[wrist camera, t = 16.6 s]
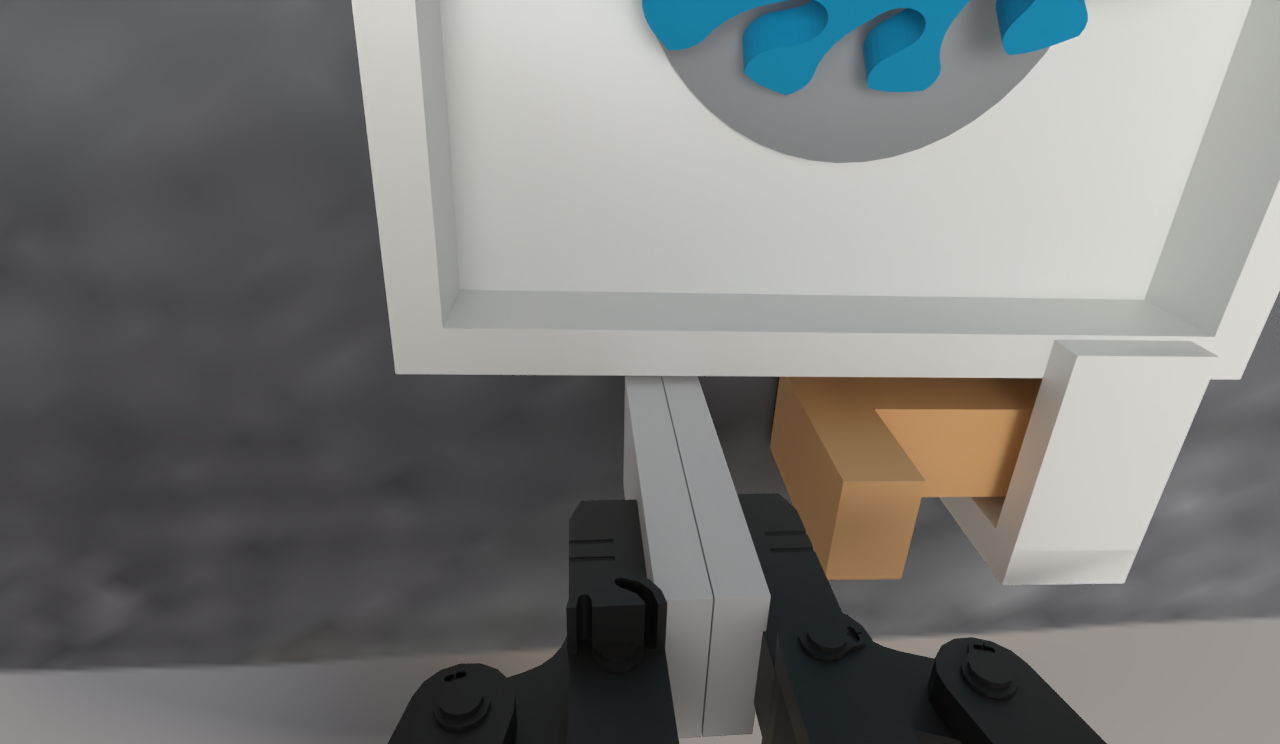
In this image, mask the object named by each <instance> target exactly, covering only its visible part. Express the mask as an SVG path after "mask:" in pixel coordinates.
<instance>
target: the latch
mask: <svg viewBox="0 0 1280 744" xmlns="http://www.w3.org/2000/svg"><path fill="white" fill-rule="evenodd" d="M1042 379H1043V378H932V377H780V378H779V385H778V392H777V400H776V407H775V414H774V422H773V429H772V436H771V444H770V450H771V452H772V455H773V457H774V460H775V462H776V464H777V467H778V469H779V472H780V474H781V476H782V479H783V481H784V484H785V486H786V488H787V491H788V493H789V496H790V498H791V500H792V503H793V505H794V508H795V509H796V510H797V511H798V514H799V516H800V518H801V520H802V523H803V525H804V527H805V530H806V535H808V536H809V539H810V541H811V543H812V545H813V551H815V552H816V555H817V557H818V559H819V561H820V564H821V566H822V568H823V570H824V573H825V575H826V577H827V579H828V580H860V579H901V578H902V574H903V570H904V566H905V562H906V558H907V554H908V550H909V546H910V542H911V538H912V534H913V530H914V526H915V522H916V518H917V514H918V510H919V506H920V502H921V498H922V497H1006V495H1007V491H1008V488H1009V485H1010V482H1011V479H1012V475H1013V472H1014V469H1015V466H1016V462H1017V459H1018V456H1019V453H1020V450H1021V446H1022V443H1023V440H1024V437H1025V433H1026V430H1027V427H1028V424H1029V421H1030V417H1031V414H1032V411H1033V408H1034V405H1035V401H1036V398H1037V395H1038V392H1039V388H1040V385H1041V382H1042Z"/></svg>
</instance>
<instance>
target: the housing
mask: <svg viewBox="0 0 1280 744" xmlns="http://www.w3.org/2000/svg"><path fill="white" fill-rule="evenodd" d="M351 1H352V9H353V18H354V26H355V35H356V43H357V52H358V60H359V68H360V77H361V85H362V94H363V102H364V111H365V119H366V128H367V136H368V145H369V153H370V162H371V170H372V179H373V187H374V196H375V204H376V213H377V221H378V229H379V238H380V246H381V255H382V263H383V272H384V280H385V289H386V297H387V306H388V314H389V323H390V331H391V340H392V348H393V357H394V365H395V373H396V374H456V375H614V376H773V377H932V378H1043V379H1042V382H1041V385H1040V388H1039V392H1038V395H1037V398H1036V401H1035V405H1034V408H1033V411H1032V414H1031V417H1030V421H1029V424H1028V427H1027V430H1026V433H1025V437H1024V440H1023V443H1022V446H1021V450H1020V453H1019V456H1018V459H1017V462H1016V466H1015V469H1014V472H1013V475H1012V479H1011V482H1010V485H1009V488H1008V491H1007V495H1006V497H939V498H940V500H941V501H942V502H943V504H944V505H945V507H946V508H947V509H948V511H949V512H950V514H951V515H952V516H953V518H954V519H955V521H956V522H957V523H958V525H959V526H960V527H961V529H962V530H963V532H964V533H965V534H966V536H967V537H968V539H969V540H970V541H971V543H972V544H973V546H974V547H975V548H976V550H977V551H978V553H979V554H980V555H981V557H982V558H983V559H984V561H985V562H986V564H987V565H988V566H989V568H990V569H991V571H992V572H993V573H994V575H995V576H996V578H997V579H998V580H999V582H1000V583H1001V585H1048V584H1112V583H1124V582H1125V580H1126V577H1127V575H1128V573H1129V570H1130V568H1131V565H1132V563H1133V561H1134V558H1135V556H1136V554H1137V551H1138V549H1139V547H1140V544H1141V542H1142V539H1143V537H1144V535H1145V532H1146V530H1147V528H1148V525H1149V523H1150V520H1151V518H1152V516H1153V513H1154V511H1155V509H1156V506H1157V504H1158V502H1159V499H1160V497H1161V494H1162V492H1163V490H1164V487H1165V485H1166V483H1167V480H1168V478H1169V476H1170V473H1171V471H1172V468H1173V466H1174V464H1175V461H1176V459H1177V457H1178V454H1179V452H1180V449H1181V447H1182V445H1183V442H1184V440H1185V438H1186V435H1187V433H1188V431H1189V428H1190V426H1191V423H1192V421H1193V419H1194V416H1195V414H1196V412H1197V409H1198V407H1199V405H1200V402H1201V400H1202V397H1203V395H1204V393H1205V390H1206V388H1207V386H1208V383H1209V381H1210V379H1241V377H1242V374H1243V372H1244V370H1245V368H1246V365H1247V363H1248V361H1249V359H1250V356H1251V354H1252V352H1253V350H1254V347H1255V345H1256V343H1257V341H1258V338H1259V336H1260V334H1261V332H1262V329H1263V327H1264V325H1265V322H1266V320H1267V318H1268V316H1269V313H1270V311H1271V309H1272V307H1273V304H1274V302H1275V300H1276V298H1277V295H1278V293H1279V291H1280V0H1085V4H1086V9H1087V13H1088V22H1087V24H1086V26H1085V29H1084V30H1083V31H1082V33H1081V34H1080V35H1079V36H1077V37H1075V38H1072V39H1069V40H1067V41H1064V42H1061V43H1059V44H1056V45H1053V46H1050V47H1047V48H1044V49H1040V50H1037V51H1033V52H1028V53H1024V54H1017V55H1008V54H1007V53H1006V52H1005V50H1004V48H1003V45H1002V40H1001V35H1000V29H999V24H998V19H997V13H996V1H997V0H970V1H969V2H968V3H967V5H966V6H965V7H964V8H963V9H962V10H961V11H960V13H959V14H958V15H957V17H956V18H955V19H954V20H953V22H952V23H951V25H950V27H949V28H948V30H947V32H946V34H945V36H944V39H943V42H942V45H941V49H940V63H941V71H940V74H939V76H938V78H937V80H936V81H935V82H934V83H933V84H932V85H931V86H930V87H928V88H927V89H926V90H924V91H915V92H885V91H878V90H874V89H870V88H868V86H867V79H866V70H865V62H864V53H863V44H864V41H865V39H866V37H867V35H868V34H869V33H870V31H871V30H872V29H873V28H875V27H876V26H877V25H879V24H880V23H882V22H883V21H885V20H887V19H888V18H890V17H892V16H894V15H896V14H897V13H899V12H901V11H903V10H904V9H906V8H897V9H893V10H889V11H886V12H884V13H882V14H880V15H878V16H876V17H875V18H873V19H871V20H869V21H868V22H866V23H864V24H862V25H861V26H859V27H857V28H856V29H854V30H853V31H851V32H850V33H848V34H847V35H845V36H844V37H843V38H842V39H840V40H839V41H838V42H837V43H836V44H834V45H833V46H832V48H831V49H830V50H829V51H828V52H827V53H826V54H825V55H824V57H823V58H822V60H821V61H820V63H819V64H818V66H817V68H816V71H815V73H814V76H813V78H812V79H811V80H810V82H809V83H808V84H807V85H806V86H804V87H803V88H802V89H800V90H798V91H797V92H795V93H792V94H789V95H784V94H781V93H778V92H775V91H772V90H770V89H767V88H765V87H763V86H761V85H759V84H757V83H756V82H754V81H752V80H751V79H750V78H749V77H748V76H747V75H746V74H745V73H744V63H743V43H742V37H743V34H744V31H745V30H746V28H747V27H748V25H749V24H750V23H751V22H752V21H754V20H755V19H757V18H758V17H760V16H762V15H764V14H767V13H771V12H775V11H780V10H786V9H792V8H797V7H800V6H803V5H805V4H808V3H809V2H811V1H812V0H788V1H783V2H777V3H772V4H768V5H764V6H759V7H756V8H753V9H750V10H748V11H745V12H743V13H740V14H738V15H736V16H734V17H733V18H731V19H729V20H727V21H725V22H724V23H723V24H721V25H720V26H718V27H717V28H716V29H714V30H713V31H712V32H711V33H710V34H709V35H708V36H707V37H706V38H705V39H704V40H703V41H702V42H700V43H698V44H697V45H695V46H693V47H690V48H687V49H682V50H668V49H667V48H666V47H665V46H664V45H663V43H662V42H661V41H660V40H659V39H658V38H657V37H656V35H655V34H654V33H653V31H652V30H651V28H650V27H649V25H648V23H647V21H646V19H645V16H644V12H643V8H642V0H351Z"/></svg>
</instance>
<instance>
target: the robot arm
mask: <svg viewBox="0 0 1280 744" xmlns="http://www.w3.org/2000/svg"><path fill="white" fill-rule="evenodd" d="M623 485H624V494H625V500H602V501H581V502H580V504H579V506H578V507H577V509H576V510H575V512H574V513H573V515H572V517H571V518H570V520H569V601H568V604H567V608H566V609H567V637H566V639H565V641H564V643H563V645H562V647H561V648H560V649H559V650H558V651H557V653H556V654H555V655H554V656H553V657H552V658H550V659H549V660H547V661H546V662H545V663H543V664H542V665H540V666H538V667H535V668H533V669H531V670H529V671H526V672H523V673H521V674H517V675H514V676H511V677H508V678H506V677H505V676H504V675H503V674H502V673H501V672H500V671H499V670H498V669H495V668H492V667H489V666H486V665H483V664H479V663H478V664H458V665H455V666H452V667H449V668H446V669H443V670H440V671H439V672H437V673H436V674H434V675H433V676H431V677H430V678H429V679H427V680H426V681H424V682H423V683H422V685H421V686H420V688H419V689H418V690H417V691H416V692H415V694H414V695H413V696H412V698H411V700H410V702H409V704H408V706H407V707H406V710H405V711H404V713H403V715H402V717H401V719H400V721H399V723H398V725H397V727H396V729H395V731H394V733H393V735H392V737H391V739H390V740H389V743H388V744H679V740H678V738H690V737H701V732H702V736H703V737H707V736H722V735H723V736H724V735H742V734H752V732H753V725H754V717H755V710H756V714H757V718H758V722H759V726H760V730H761V733H762V744H1106V743H1105V742H1104V741H1103V740H1102V739H1101V737H1100V736H1098V735H1097V734H1096V732H1095V731H1094V730H1092V728H1091V727H1090V726H1089V725H1088V724H1087V723H1086V722H1085V721H1084V720H1083V719H1082V718H1081V717H1079V715H1078V714H1077V713H1076V712H1075V711H1074V710H1073V709H1072V708H1071V707H1070V706H1069V705H1068V704H1067V703H1066V702H1065V701H1064V700H1063V699H1062V698H1061V697H1060V696H1059V695H1058V694H1057V693H1056V692H1055V691H1054V690H1053V689H1052V688H1051V687H1050V686H1049V685H1048V684H1047V683H1046V682H1045V681H1044V680H1043V679H1042V678H1041V677H1040V676H1039V675H1038V674H1037V673H1036V672H1035V671H1034V670H1033V669H1032V668H1031V667H1030V666H1029V665H1028V664H1027V663H1026V662H1025V661H1024V660H1022V659H1021V658H1020V657H1018V656H1017V655H1016V654H1015V653H1013V652H1012V651H1011V650H1008V649H1006V648H1004V647H1002V646H1000V645H998V644H996V643H994V642H991V641H986V640H982V639H977V638H972V637H971V638H958V639H953V640H951V641H949V642H947V643H946V644H944V645H942V646H941V648H940V650H939V652H938V653H937V655H936V657H935V659H933V658H928V657H923V656H919V655H914V654H910V653H905V652H900V651H896V650H893V649H890V648H886V647H883V646H881V645H879V644H877V643H875V642H873V641H872V639H871V637H870V636H869V635H868V633H867V632H866V630H865V629H864V628H863V626H862V625H860V624H859V623H858V622H856V621H855V620H853V619H852V618H851V617H849V616H848V615H846V614H843V613H842V611H841V609H840V607H839V604H838V602H837V600H836V598H835V595H834V593H833V591H832V589H831V586H830V584H829V582H828V579H827V577H826V575H825V573H824V570H823V568H822V566H821V564H820V561H819V559H818V557H817V555H816V552H815V551H813V545H812V543H811V541H810V539H809V536H808V535H806V530H805V527H804V525H803V523H802V520H801V518H800V516H799V514H798V511H797V510H796V509H795V508H794V507H793V506H792V505H790V504H789V503H788V502H787V501H786V500H785V499H784V498H783V497H782V496H781V495H779V494H778V493H775V494H741V495H737V493H736V490H735V487H734V484H733V481H732V478H731V475H730V472H729V469H728V466H727V463H726V460H725V457H724V454H723V451H722V448H721V445H720V442H719V439H718V436H717V433H716V430H715V427H714V424H713V421H712V418H711V415H710V412H709V409H708V406H707V403H706V400H705V397H704V394H703V391H702V388H701V385H700V382H699V379H698V376H662V379H661V376H625V413H624V474H623Z"/></svg>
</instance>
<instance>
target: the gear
mask: <svg viewBox="0 0 1280 744" xmlns="http://www.w3.org/2000/svg"><path fill="white" fill-rule="evenodd" d="M783 1H788V0H642V8H643V12H644V16H645V19H646V21H647V23H648V25H649V27H650V28H651V30H652V31H653V33H654V34H655V35H656V37H657V38H658V39H659V40H660V41H661V42H662V43H663V45H664V46H665V47H666V48H667V49H668V50H682V49H687V48H690V47H693V46H695V45H697V44H698V43H700V42H702V41H703V40H704V39H705V38H706V37H707V36H708V35H709V34H710V33H711V32H712V31H713V30H714V29H716V28H717V27H718V26H720V25H721V24H723V23H724V22H725V21H727V20H729V19H731V18H733V17H734V16H736V15H738V14H740V13H743V12H745V11H748V10H750V9H753V8H756V7H759V6H764V5H768V4H772V3H777V2H783ZM969 1H970V0H812V1H811V2H809V3H808V4H805V5H803V6H800V7H797V8H792V9H786V10H780V11H775V12H771V13H767V14H764V15H762V16H760V17H758V18H757V19H755V20H754V21H752V22H751V23H750V24H749V25H748V27H747V28H746V30H745V31H744V34H743V37H742V43H743V63H744V73H745V74H746V75H747V76H748V77H749V78H750V79H751V80H752V81H754V82H756V83H757V84H759V85H761V86H763V87H765V88H767V89H770V90H772V91H775V92H778V93H781V94H784V95H789V94H792V93H795V92H797V91H798V90H800V89H802V88H803V87H804V86H806V85H807V84H808V83H809V82H810V80H811V79H812V78H813V76H814V73H815V71H816V68H817V66H818V64H819V63H820V61H821V60H822V58H823V57H824V55H825V54H826V53H827V52H828V51H829V50H830V49H831V48H832V46H833V45H834V44H836V43H837V42H838V41H839V40H840V39H842V38H843V37H844V36H845V35H847V34H848V33H850V32H851V31H853V30H854V29H856V28H857V27H859V26H861V25H862V24H864V23H866V22H868V21H869V20H871V19H873V18H875V17H876V16H878V15H880V14H882V13H884V12H886V11H889V10H893V9H897V8H906V9H904V10H903V11H901V12H899V13H897V14H896V15H894V16H892V17H890V18H888V19H887V20H885V21H883V22H882V23H880V24H879V25H877V26H876V27H875V28H873V29H872V30H871V31H870V33H869V34H868V35H867V37H866V39H865V41H864V44H863V53H864V62H865V70H866V79H867V86H868V88H870V89H874V90H878V91H885V92H915V91H924V90H926V89H927V88H928V87H930V86H931V85H932V84H933V83H934V82H935V81H936V80H937V78H938V76H939V74H940V71H941V63H940V49H941V45H942V42H943V39H944V36H945V34H946V32H947V30H948V28H949V27H950V25H951V23H952V22H953V20H954V19H955V18H956V17H957V15H958V14H959V13H960V11H961V10H962V9H963V8H964V7H965V6H966V5H967V3H968V2H969ZM996 13H997V19H998V24H999V29H1000V35H1001V40H1002V45H1003V48H1004V50H1005V52H1006V53H1007V54H1008V55H1017V54H1024V53H1028V52H1033V51H1037V50H1040V49H1044V48H1047V47H1050V46H1053V45H1056V44H1059V43H1061V42H1064V41H1067V40H1069V39H1072V38H1075V37H1077V36H1079V35H1080V34H1081V33H1082V31H1083V30H1084V29H1085V26H1086V24H1087V22H1088V13H1087V9H1086V4H1085V0H997V1H996Z"/></svg>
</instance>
